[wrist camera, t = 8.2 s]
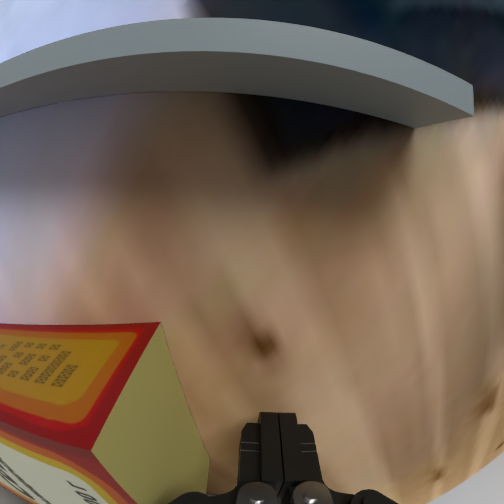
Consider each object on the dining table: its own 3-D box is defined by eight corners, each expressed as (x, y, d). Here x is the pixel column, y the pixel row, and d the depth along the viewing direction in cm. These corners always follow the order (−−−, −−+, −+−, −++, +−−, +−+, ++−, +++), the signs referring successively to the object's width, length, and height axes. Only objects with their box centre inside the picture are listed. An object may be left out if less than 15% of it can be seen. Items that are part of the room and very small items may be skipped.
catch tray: (-62, 126, 8) (-96, 127, 4) (415, 104, 9) (472, 85, 5) (-2, 424, 14) (-19, 445, 11) (301, 501, 15) (305, 537, 11)
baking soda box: (199, 554, 7) (-13, 476, 7) (210, 459, 13) (21, 425, 14) (91, 451, 4) (-92, 364, 5) (160, 322, 11) (-35, 321, 11)
